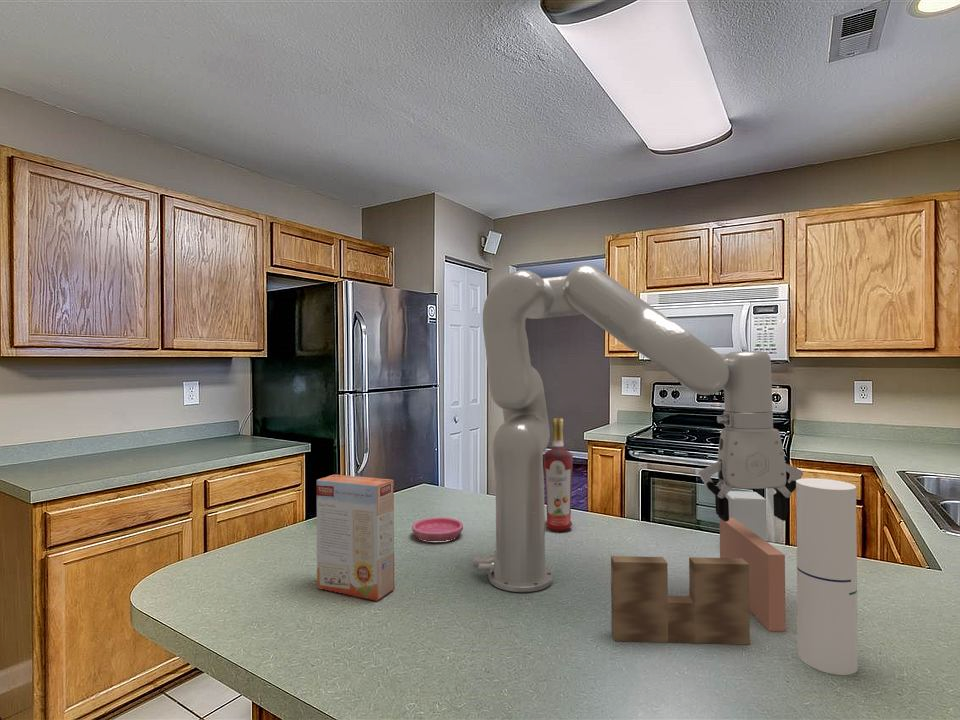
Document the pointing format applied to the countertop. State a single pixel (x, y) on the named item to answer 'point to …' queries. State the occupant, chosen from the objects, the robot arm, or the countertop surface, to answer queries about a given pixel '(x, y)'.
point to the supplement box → (749, 511)
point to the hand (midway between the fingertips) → (751, 518)
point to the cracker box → (355, 535)
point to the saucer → (437, 529)
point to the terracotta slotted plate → (758, 572)
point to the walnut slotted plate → (680, 601)
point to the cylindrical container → (827, 575)
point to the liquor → (558, 481)
